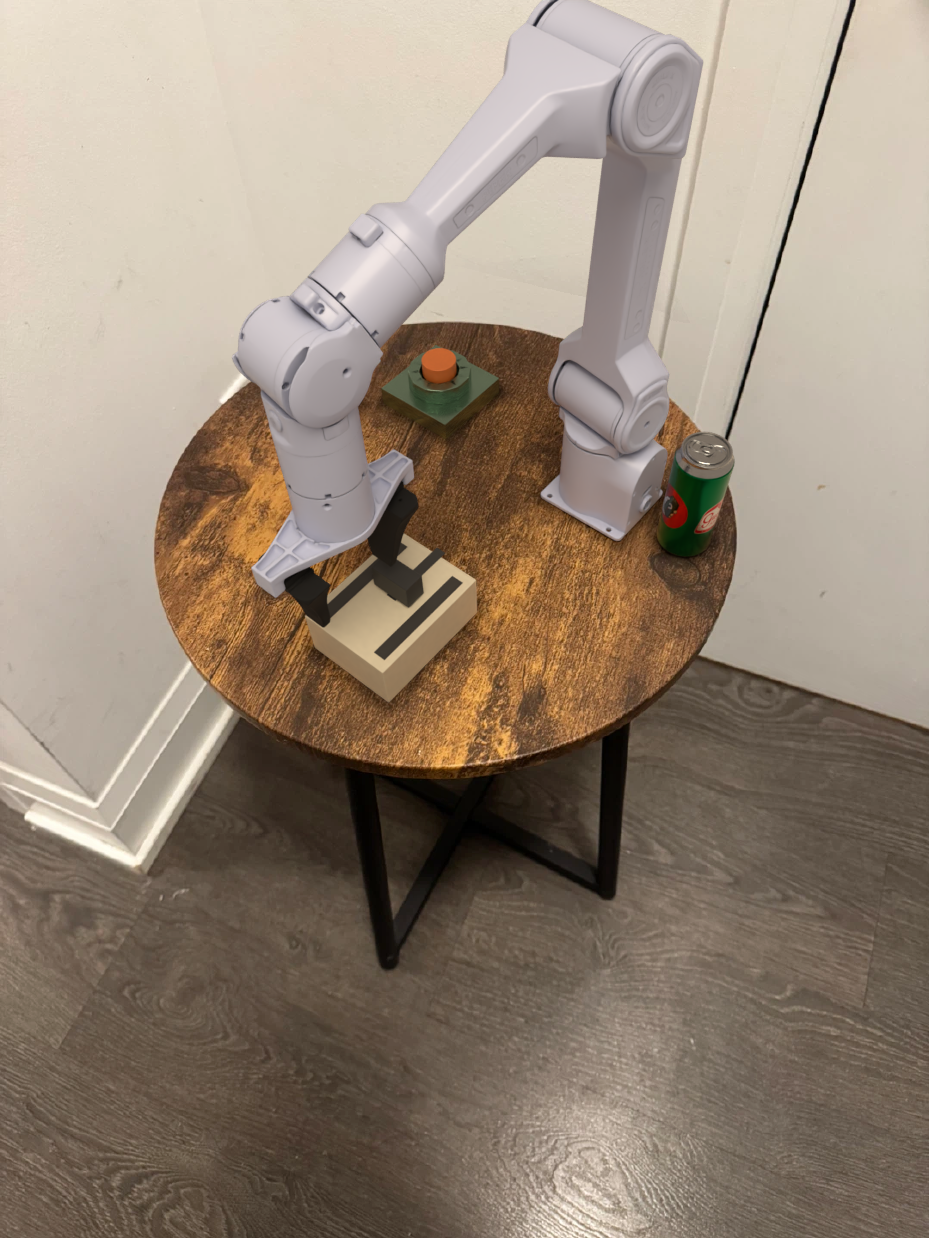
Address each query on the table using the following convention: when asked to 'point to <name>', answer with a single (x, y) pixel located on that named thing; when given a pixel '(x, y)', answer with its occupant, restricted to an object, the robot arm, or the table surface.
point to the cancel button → (439, 365)
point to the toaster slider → (398, 581)
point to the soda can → (695, 493)
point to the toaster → (395, 620)
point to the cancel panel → (441, 395)
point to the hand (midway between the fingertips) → (352, 587)
